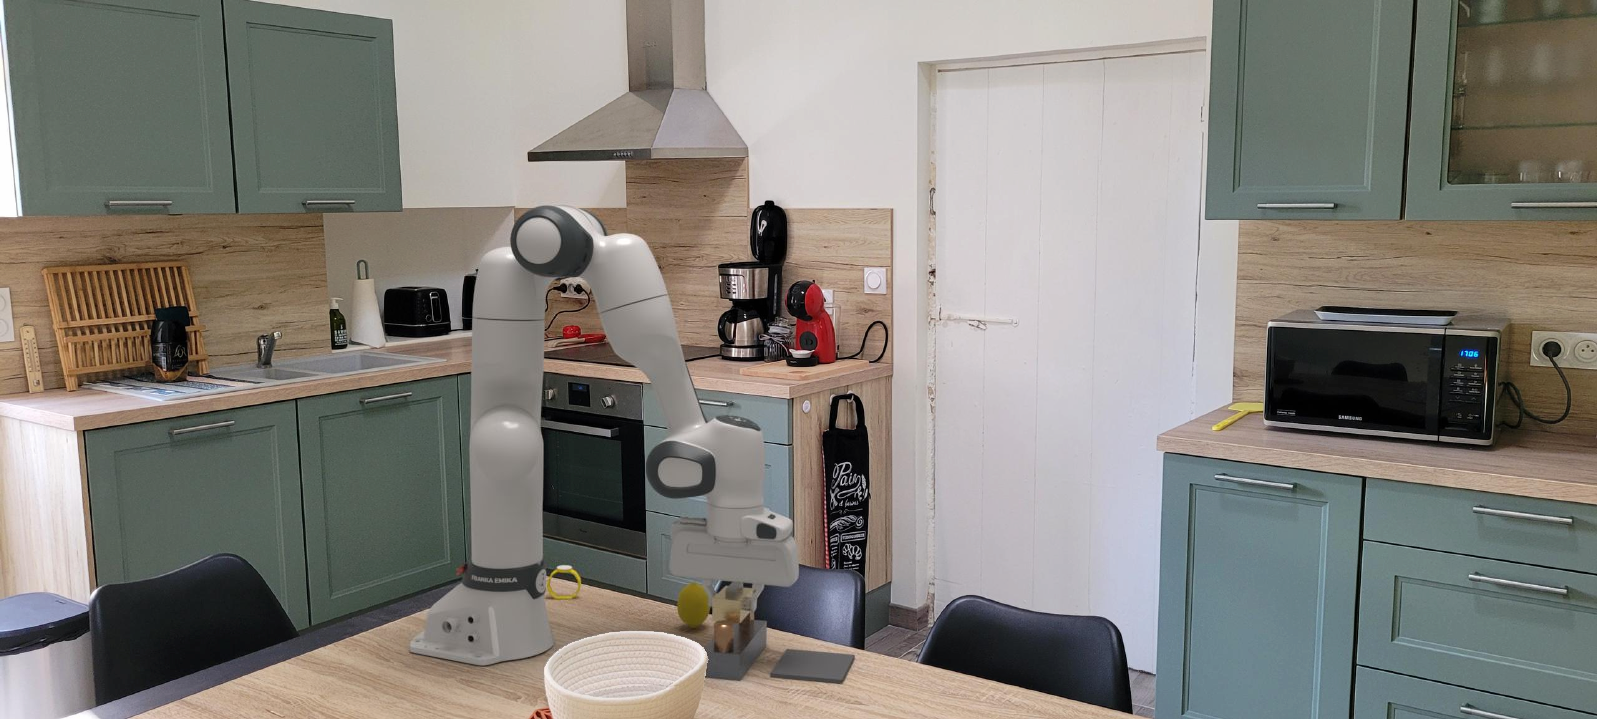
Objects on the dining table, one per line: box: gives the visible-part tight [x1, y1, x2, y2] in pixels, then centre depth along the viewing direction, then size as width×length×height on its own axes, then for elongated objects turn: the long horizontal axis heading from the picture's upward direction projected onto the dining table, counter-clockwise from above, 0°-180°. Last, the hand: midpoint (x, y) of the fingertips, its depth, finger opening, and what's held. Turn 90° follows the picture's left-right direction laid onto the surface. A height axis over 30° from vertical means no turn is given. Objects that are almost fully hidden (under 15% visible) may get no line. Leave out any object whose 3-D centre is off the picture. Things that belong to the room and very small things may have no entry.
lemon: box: [676, 581, 711, 629], centre depth 196 cm, size 6×6×8 cm
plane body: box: [703, 590, 768, 681], centre depth 181 cm, size 6×16×9 cm, turn 167°
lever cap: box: [711, 581, 752, 623], centre depth 180 cm, size 4×7×4 cm, turn 167°
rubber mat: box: [769, 648, 856, 685], centre depth 179 cm, size 11×11×1 cm
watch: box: [546, 564, 582, 600], centre depth 212 cm, size 6×3×6 cm, turn 92°
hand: (732, 608), depth 181 cm, fingers closed on lever cap, 4 cm apart
